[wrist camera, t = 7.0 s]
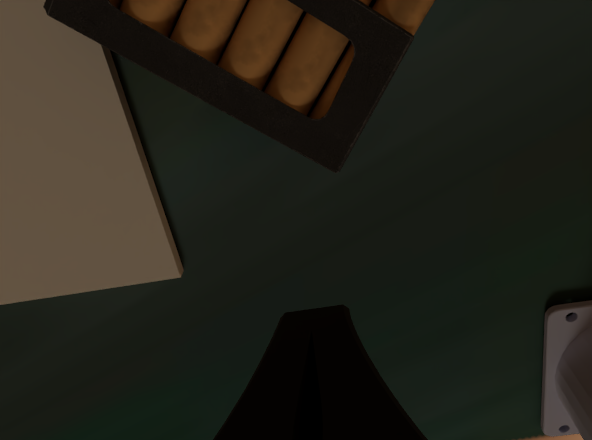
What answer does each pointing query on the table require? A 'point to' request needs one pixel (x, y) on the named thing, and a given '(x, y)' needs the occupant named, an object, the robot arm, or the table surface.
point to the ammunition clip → (264, 58)
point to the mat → (71, 168)
